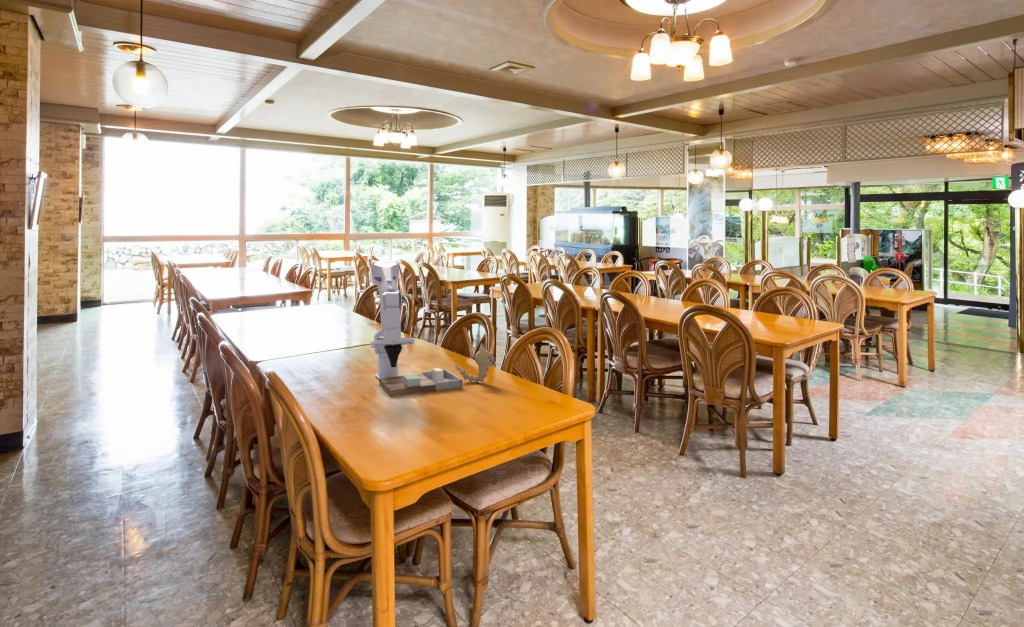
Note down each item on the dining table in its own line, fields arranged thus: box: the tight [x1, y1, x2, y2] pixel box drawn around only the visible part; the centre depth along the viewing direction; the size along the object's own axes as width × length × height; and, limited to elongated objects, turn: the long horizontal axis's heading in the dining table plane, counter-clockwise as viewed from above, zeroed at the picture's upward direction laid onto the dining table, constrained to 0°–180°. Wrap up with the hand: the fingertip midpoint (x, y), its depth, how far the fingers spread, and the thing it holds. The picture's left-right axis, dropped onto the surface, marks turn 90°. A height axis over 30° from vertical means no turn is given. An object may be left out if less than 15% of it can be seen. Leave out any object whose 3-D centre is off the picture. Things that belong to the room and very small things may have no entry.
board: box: [378, 373, 437, 398], centre depth 207 cm, size 17×16×2 cm
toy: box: [455, 342, 496, 384], centre depth 213 cm, size 6×15×15 cm, turn 78°
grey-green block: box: [403, 374, 421, 387], centre depth 202 cm, size 4×4×3 cm
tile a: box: [431, 367, 444, 383], centre depth 214 cm, size 4×4×3 cm
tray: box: [422, 368, 463, 392], centre depth 212 cm, size 17×9×3 cm, turn 26°
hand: (393, 366), depth 199 cm, fingers closed
